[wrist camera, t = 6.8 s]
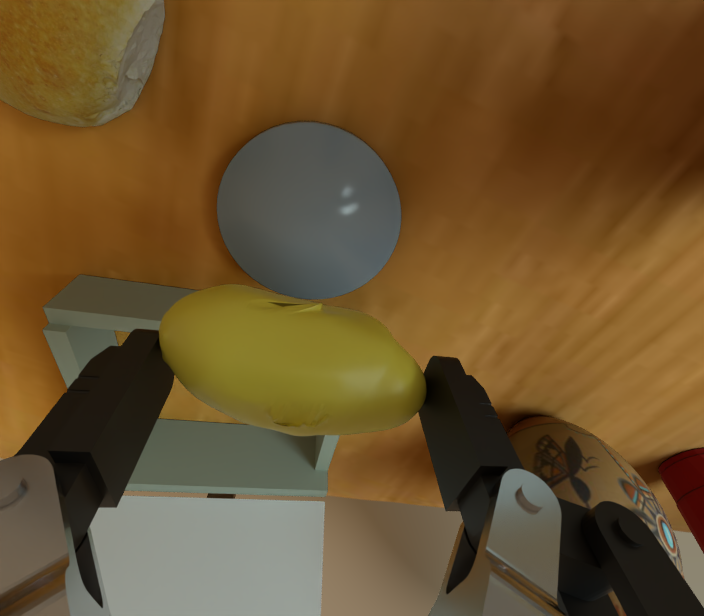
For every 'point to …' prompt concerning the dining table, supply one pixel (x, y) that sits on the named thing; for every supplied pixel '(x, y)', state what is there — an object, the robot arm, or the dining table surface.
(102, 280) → the frame
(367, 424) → the yellow oblong lump
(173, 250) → the dining table surface
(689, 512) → the plastic cup
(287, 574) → the lid
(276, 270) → the saucer
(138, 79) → the bread roll
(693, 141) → the dining table surface
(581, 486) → the ceramic vessel
